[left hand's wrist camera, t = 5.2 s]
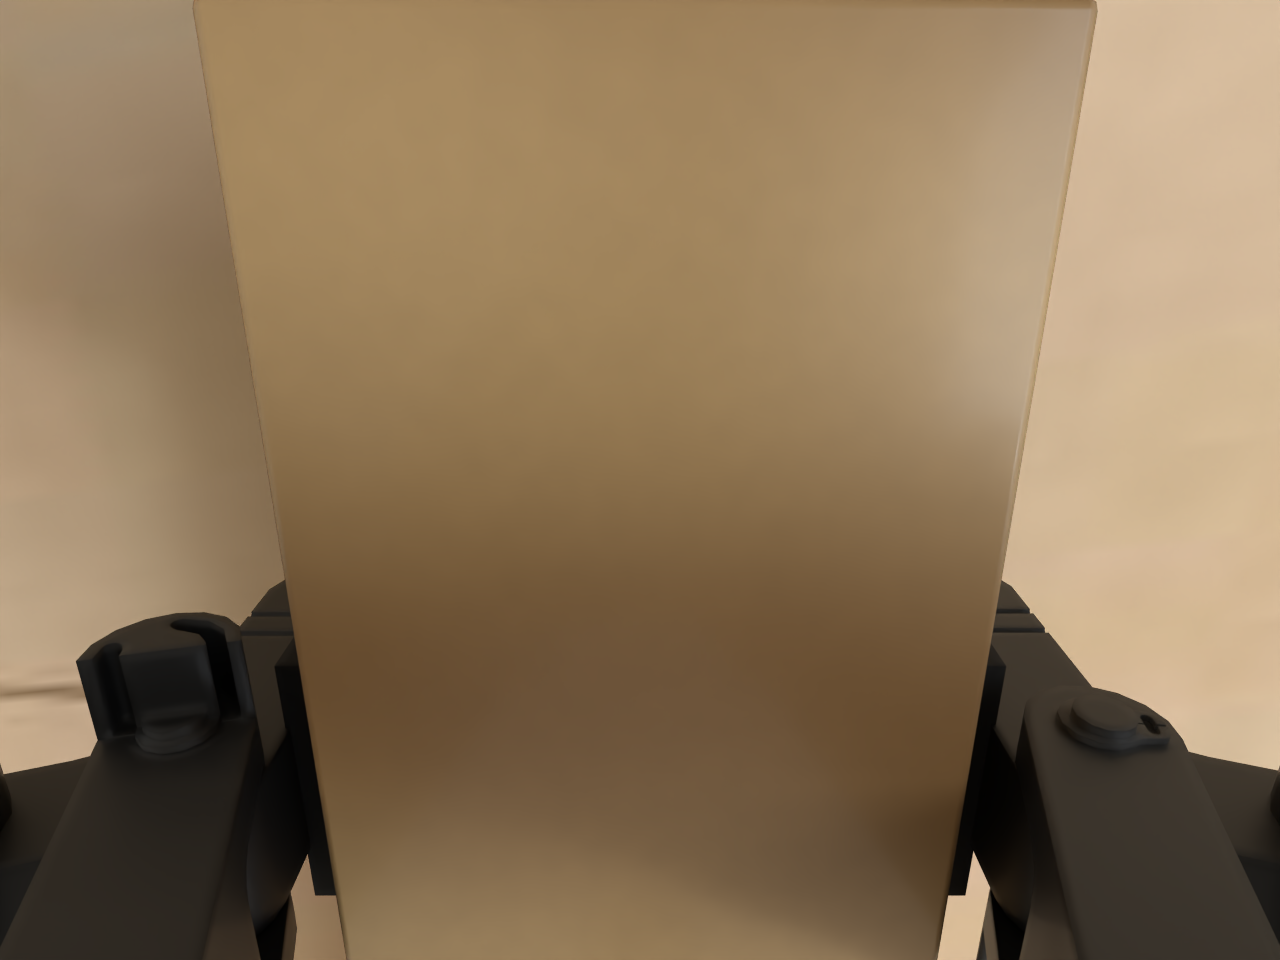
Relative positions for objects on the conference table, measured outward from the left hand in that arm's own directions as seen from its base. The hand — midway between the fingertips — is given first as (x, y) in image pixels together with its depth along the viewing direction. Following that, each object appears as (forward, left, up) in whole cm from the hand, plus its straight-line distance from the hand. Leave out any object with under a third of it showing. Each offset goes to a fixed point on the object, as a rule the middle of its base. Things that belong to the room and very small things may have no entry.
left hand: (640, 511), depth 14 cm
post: (+19, +14, -1) cm, 24 cm away
